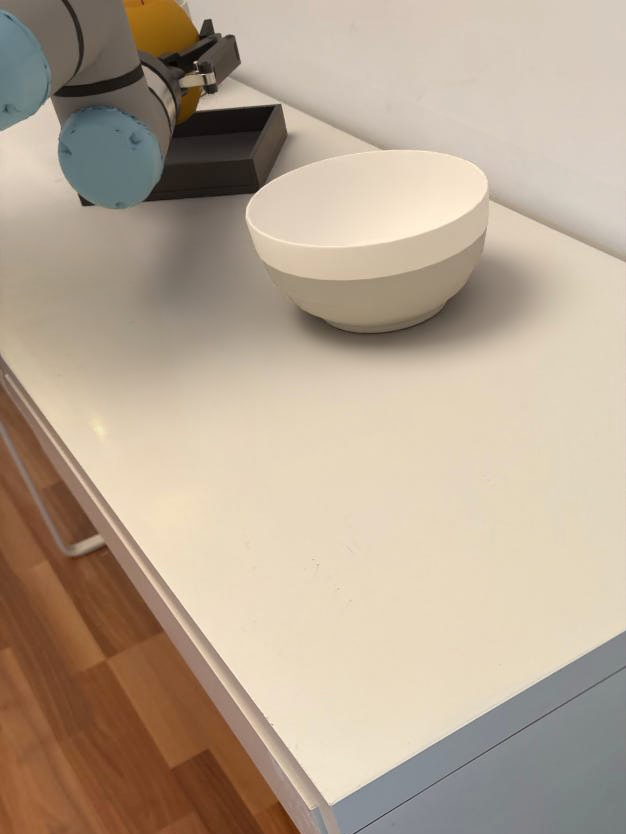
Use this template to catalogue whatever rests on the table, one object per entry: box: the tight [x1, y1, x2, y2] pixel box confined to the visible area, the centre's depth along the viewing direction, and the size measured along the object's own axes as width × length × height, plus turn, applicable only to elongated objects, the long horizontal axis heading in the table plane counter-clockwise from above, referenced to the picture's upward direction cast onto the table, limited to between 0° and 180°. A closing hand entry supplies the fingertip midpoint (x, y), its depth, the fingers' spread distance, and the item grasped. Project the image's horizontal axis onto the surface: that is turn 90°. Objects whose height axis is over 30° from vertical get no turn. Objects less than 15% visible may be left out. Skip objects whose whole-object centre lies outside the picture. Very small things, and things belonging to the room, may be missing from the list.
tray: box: [76, 103, 288, 207], centre depth 106 cm, size 19×17×3 cm
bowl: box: [245, 149, 490, 334], centre depth 78 cm, size 19×19×9 cm
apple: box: [123, 0, 202, 125], centre depth 100 cm, size 10×10×12 cm
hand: (162, 40), depth 103 cm, fingers closed on apple, 10 cm apart
